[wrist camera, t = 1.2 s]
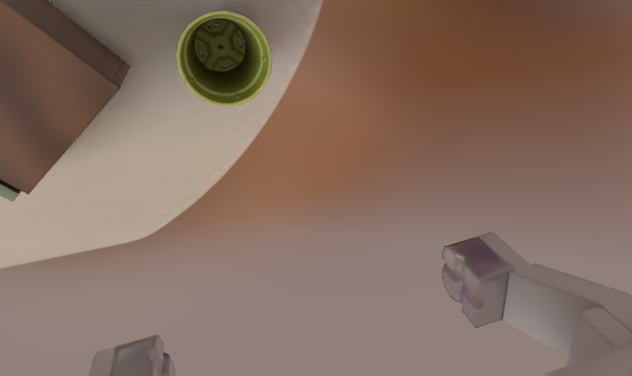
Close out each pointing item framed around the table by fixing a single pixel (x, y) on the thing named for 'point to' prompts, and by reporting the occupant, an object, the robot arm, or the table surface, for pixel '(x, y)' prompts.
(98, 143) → the table surface
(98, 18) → the table surface
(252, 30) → the plant pot
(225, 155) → the table surface
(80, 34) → the cabinet
